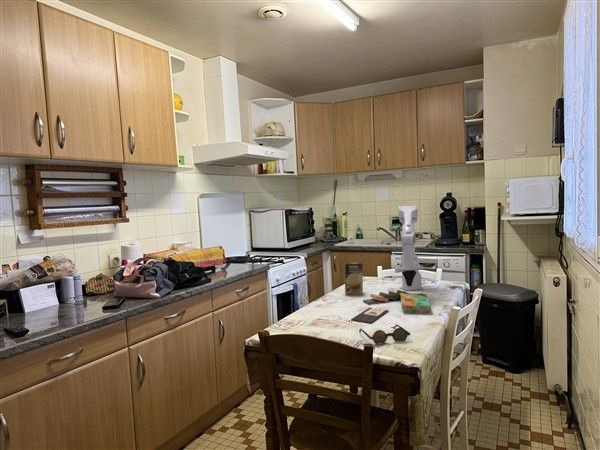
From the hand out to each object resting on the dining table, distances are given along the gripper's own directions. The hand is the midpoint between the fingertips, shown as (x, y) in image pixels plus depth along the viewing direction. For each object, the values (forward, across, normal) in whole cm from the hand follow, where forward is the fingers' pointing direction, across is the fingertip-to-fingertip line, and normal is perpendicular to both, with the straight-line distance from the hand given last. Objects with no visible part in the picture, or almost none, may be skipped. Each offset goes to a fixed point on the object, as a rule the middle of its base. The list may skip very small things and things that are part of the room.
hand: (409, 285), depth 190 cm
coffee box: (+6, -20, +19) cm, 29 cm away
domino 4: (+5, -4, 0) cm, 6 cm away
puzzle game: (+6, -7, -14) cm, 17 cm away
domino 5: (+5, +1, 0) cm, 5 cm away
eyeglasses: (+6, -38, -39) cm, 54 cm away
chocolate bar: (+6, -31, -17) cm, 36 cm away
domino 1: (+5, -17, 0) cm, 18 cm away
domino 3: (+5, -8, 0) cm, 10 cm away
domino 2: (+5, -13, 0) cm, 14 cm away
